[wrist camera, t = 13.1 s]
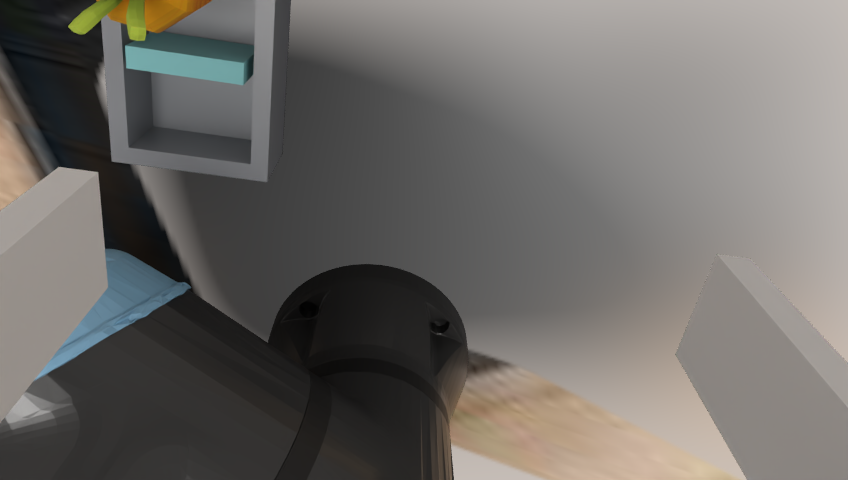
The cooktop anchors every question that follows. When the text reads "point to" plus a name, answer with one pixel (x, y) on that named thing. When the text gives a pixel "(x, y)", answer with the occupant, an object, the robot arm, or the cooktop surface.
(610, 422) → the cooktop surface
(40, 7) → the cooktop surface
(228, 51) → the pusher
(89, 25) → the carrot
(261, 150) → the grey open box
